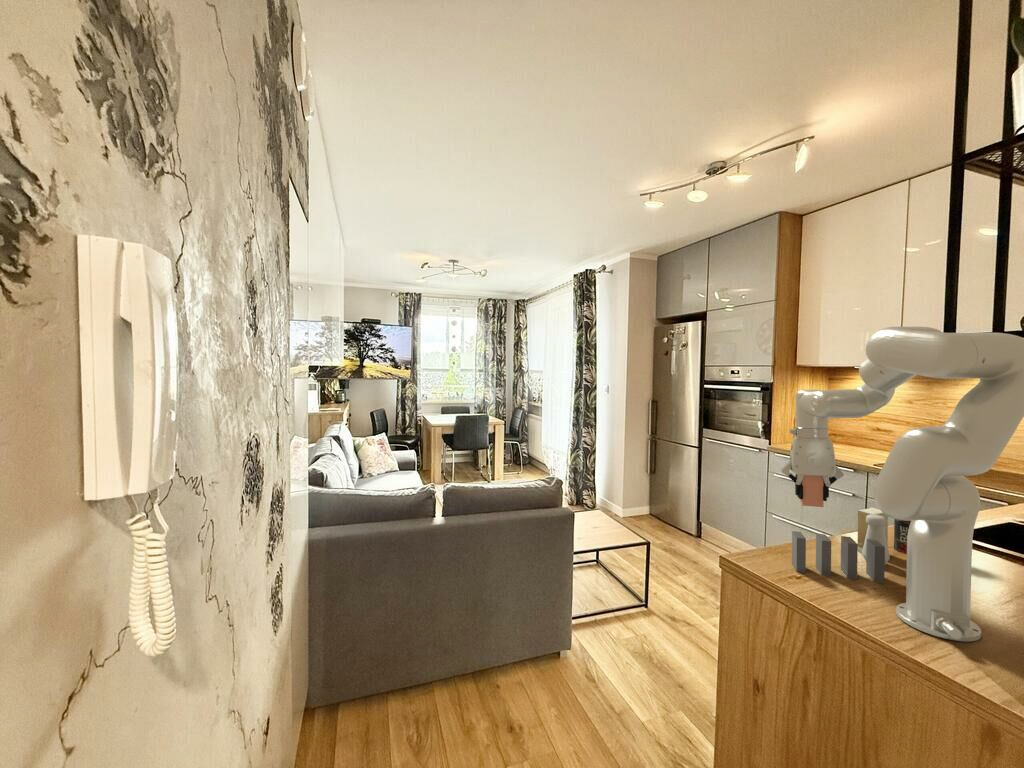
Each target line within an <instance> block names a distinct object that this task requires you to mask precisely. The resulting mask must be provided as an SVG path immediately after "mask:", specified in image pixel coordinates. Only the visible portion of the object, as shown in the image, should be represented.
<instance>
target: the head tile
mask: <svg viewBox="0 0 1024 768" xmlns="http://www.w3.org/2000/svg"><path fill="white" fill-rule="evenodd" d="M801 483H802V485H803V499H799V501H800V505H801V506H804V507H817V508H824V504H825V503H824V502H825V501H824V500H823V476H806V475H804V476H803V479H802V482H801Z"/></svg>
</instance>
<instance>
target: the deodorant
mask: <svg viewBox="0 0 1024 768" xmlns="http://www.w3.org/2000/svg"><path fill="white" fill-rule="evenodd" d="M893 519H894V518H893ZM910 523H911V521H904V520H897V519H894V523H893V525H894V526H893V550H895V551H897V552H898V553H902V554H906V555H907V536H908V529H909V526H910Z"/></svg>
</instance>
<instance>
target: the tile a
mask: <svg viewBox="0 0 1024 768" xmlns="http://www.w3.org/2000/svg"><path fill="white" fill-rule="evenodd" d="M806 545H807V538H806V536H805V535H804V534H803V532H801V531H797V530H796V531H795V530H794V531H793V530H792V531H791V565H792V566H793V569H794V570H795V572H796V573H802V574H806V570H807V569H806V568H807V567H806V565H807V564H806V563H807V560H806V559H807V558H806V557H807V555H806V554H807V552H806V551H807V546H806Z"/></svg>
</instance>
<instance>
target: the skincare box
mask: <svg viewBox="0 0 1024 768" xmlns="http://www.w3.org/2000/svg"><path fill="white" fill-rule="evenodd" d="M870 514H872V515H879V516H882V517H884V518H885V519H886V521H887V523H886V526H884V532H885V536H886V541H887V546H888V547H889V545H888V544H889V543H888V542H889V531H888V530H889V528H888V527H889V520H888V519H889V516H887V515H886V514H884V513H883V512H882V511H881V510H880V509H879V508H875V507H867V508H862V509H857V544H858V552H859V553H861V554H862V550H863V546H864V542H865V538H866V533H867V529H868V525H869V524H868V523H866V516H867V515H870Z"/></svg>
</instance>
